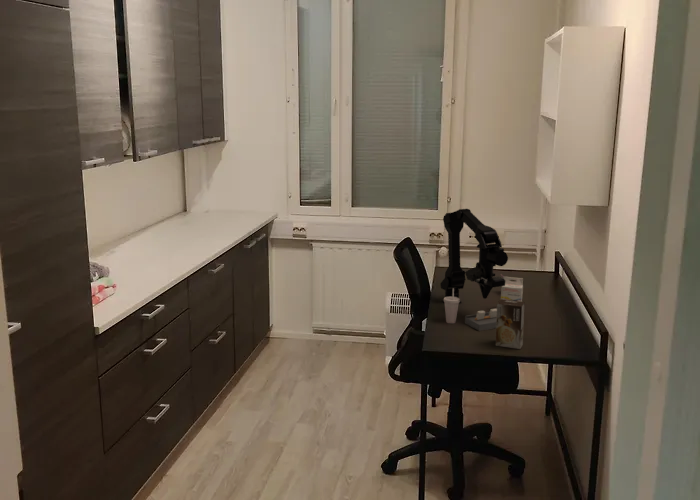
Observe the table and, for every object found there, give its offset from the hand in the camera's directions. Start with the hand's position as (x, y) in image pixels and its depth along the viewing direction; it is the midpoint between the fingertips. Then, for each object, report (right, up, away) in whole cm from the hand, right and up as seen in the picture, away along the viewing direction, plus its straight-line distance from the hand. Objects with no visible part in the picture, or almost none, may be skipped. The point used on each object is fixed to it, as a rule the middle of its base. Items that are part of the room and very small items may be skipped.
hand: (484, 298), depth 271 cm
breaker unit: (+2, -10, -3) cm, 11 cm away
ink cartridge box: (+13, -7, +11) cm, 18 cm away
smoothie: (-14, -10, -1) cm, 17 cm away
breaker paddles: (+2, -7, -4) cm, 8 cm away
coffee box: (+4, -15, -25) cm, 30 cm away
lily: (+17, -2, +33) cm, 37 cm away
